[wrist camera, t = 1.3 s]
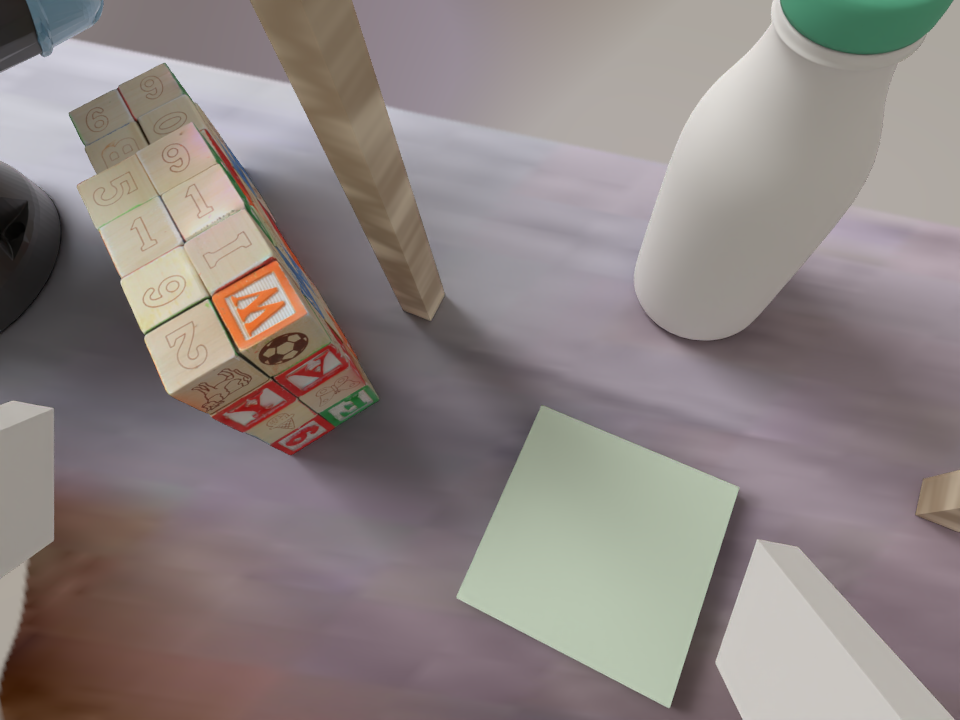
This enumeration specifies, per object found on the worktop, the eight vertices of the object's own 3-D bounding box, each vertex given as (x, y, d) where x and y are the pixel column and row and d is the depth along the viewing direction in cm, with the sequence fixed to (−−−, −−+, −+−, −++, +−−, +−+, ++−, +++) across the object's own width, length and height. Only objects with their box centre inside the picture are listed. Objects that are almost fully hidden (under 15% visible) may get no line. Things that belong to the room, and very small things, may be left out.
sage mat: (458, 596, 29) (455, 597, 29) (541, 409, 33) (541, 404, 32) (664, 704, 27) (669, 708, 26) (733, 490, 30) (739, 487, 29)
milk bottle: (745, 362, 33) (1027, 78, 14) (615, 320, 34) (711, 15, 16) (776, 252, 35) (1054, -118, 16) (652, 217, 36) (776, -155, 18)
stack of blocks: (166, 209, 40) (20, 64, 29) (244, 166, 41) (132, 9, 30) (291, 458, 33) (163, 396, 22) (384, 401, 34) (307, 311, 22)
